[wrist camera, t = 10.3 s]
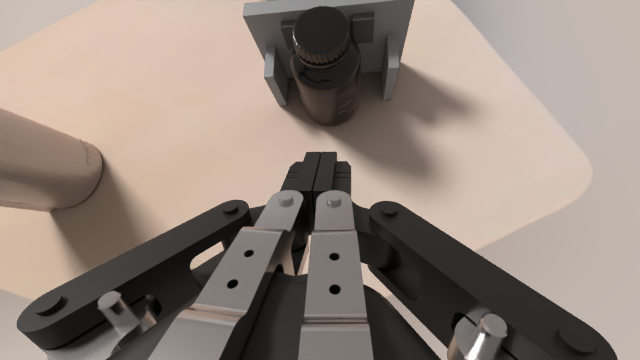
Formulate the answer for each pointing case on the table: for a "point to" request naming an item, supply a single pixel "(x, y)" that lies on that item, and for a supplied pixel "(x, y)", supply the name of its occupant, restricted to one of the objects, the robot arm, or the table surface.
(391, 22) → the panel
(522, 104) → the table surface
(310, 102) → the supplement bottle
